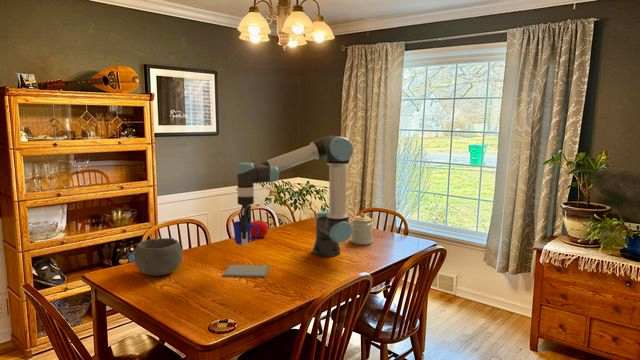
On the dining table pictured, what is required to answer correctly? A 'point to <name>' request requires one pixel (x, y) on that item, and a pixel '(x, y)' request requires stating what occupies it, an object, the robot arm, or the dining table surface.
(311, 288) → the dining table surface
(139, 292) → the dining table surface
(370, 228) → the jar
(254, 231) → the tomato
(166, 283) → the dining table surface
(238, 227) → the mug
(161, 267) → the bowl
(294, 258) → the dining table surface
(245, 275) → the plate
